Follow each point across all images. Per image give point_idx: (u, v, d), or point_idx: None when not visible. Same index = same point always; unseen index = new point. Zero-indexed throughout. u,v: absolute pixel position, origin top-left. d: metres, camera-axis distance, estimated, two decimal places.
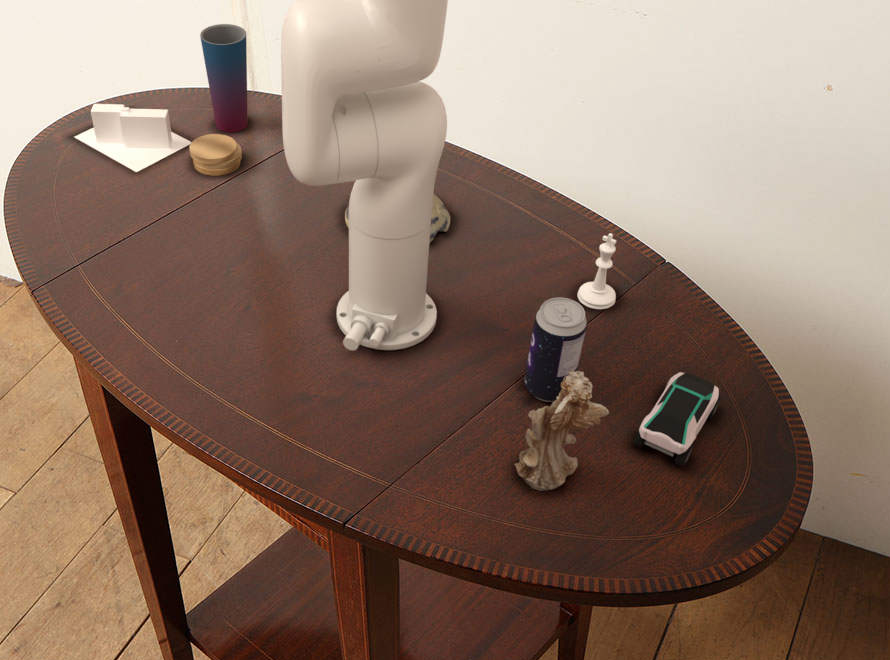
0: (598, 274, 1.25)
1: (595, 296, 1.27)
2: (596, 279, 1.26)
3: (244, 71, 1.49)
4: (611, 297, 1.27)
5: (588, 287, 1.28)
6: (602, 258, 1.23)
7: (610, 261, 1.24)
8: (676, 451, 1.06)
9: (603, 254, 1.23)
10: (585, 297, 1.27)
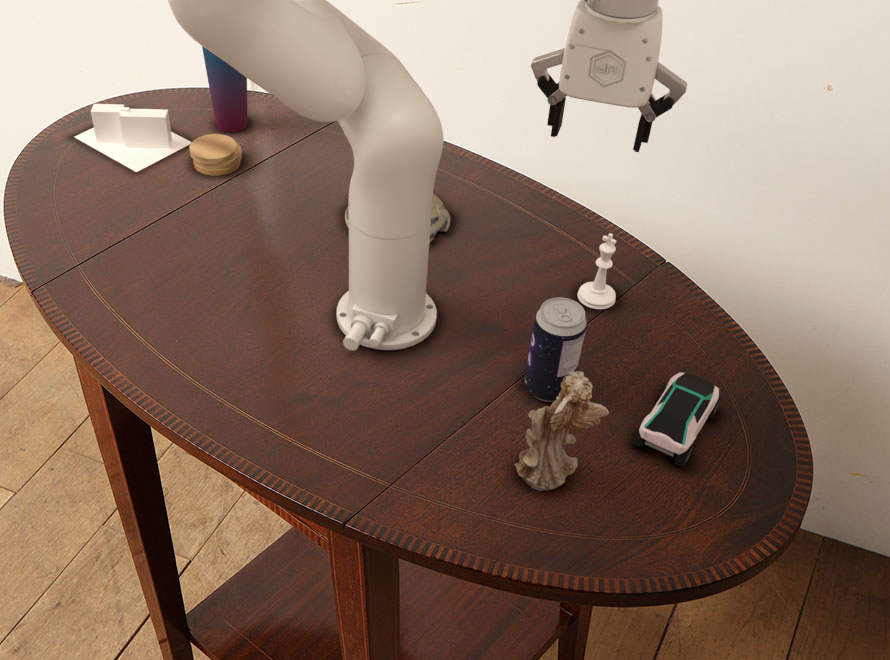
0: (598, 274, 1.25)
1: (595, 296, 1.27)
2: (596, 279, 1.26)
3: None
4: (611, 297, 1.27)
5: (588, 287, 1.28)
6: (602, 258, 1.23)
7: (610, 261, 1.24)
8: (676, 451, 1.06)
9: (603, 254, 1.23)
10: (585, 297, 1.27)
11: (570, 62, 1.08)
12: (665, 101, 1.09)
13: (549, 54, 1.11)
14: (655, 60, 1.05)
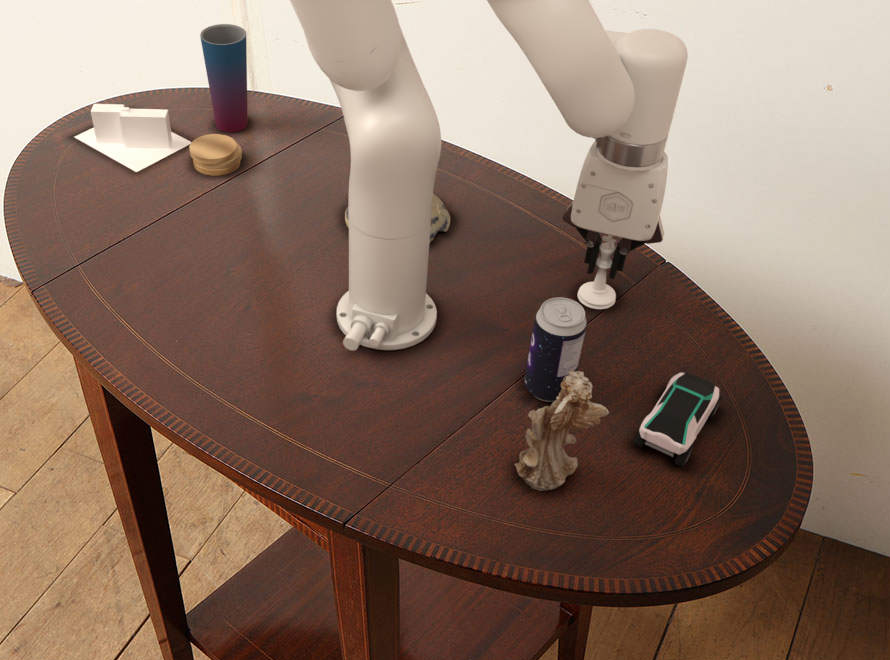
0: (598, 274, 1.25)
1: (595, 296, 1.27)
2: (596, 279, 1.26)
3: (244, 71, 1.49)
4: (611, 297, 1.27)
5: (588, 287, 1.28)
6: (602, 258, 1.23)
7: (610, 261, 1.24)
8: (676, 451, 1.06)
9: (603, 254, 1.23)
10: (585, 297, 1.27)
11: (581, 199, 1.16)
12: None
13: (571, 203, 1.20)
14: (660, 202, 1.14)
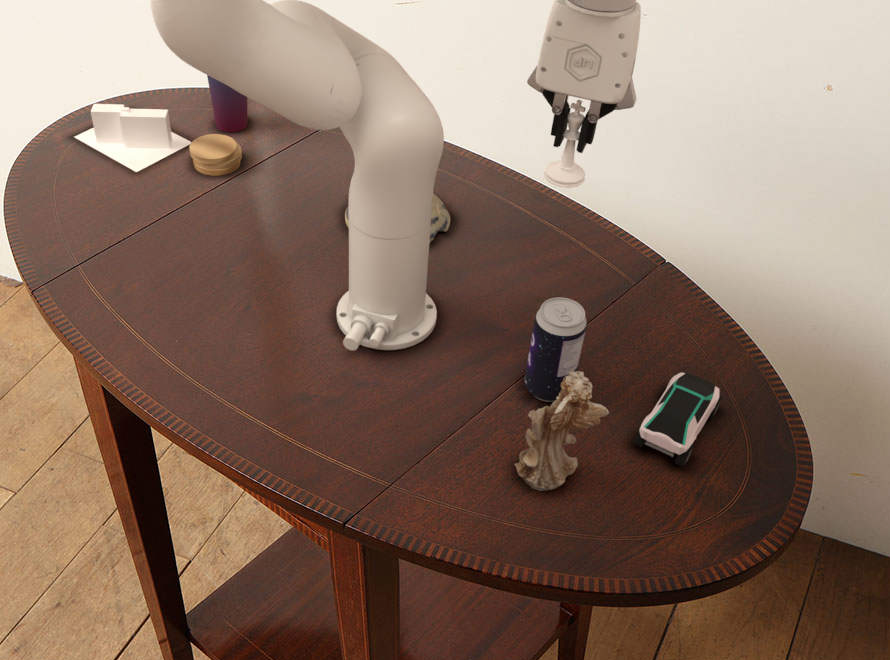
0: (566, 148, 1.16)
1: (563, 174, 1.17)
2: (564, 154, 1.17)
3: None
4: (580, 175, 1.18)
5: (555, 165, 1.19)
6: (570, 129, 1.14)
7: (578, 133, 1.15)
8: (676, 451, 1.06)
9: (571, 123, 1.13)
10: (551, 174, 1.18)
11: (547, 54, 1.07)
12: None
13: None
14: (631, 56, 1.04)
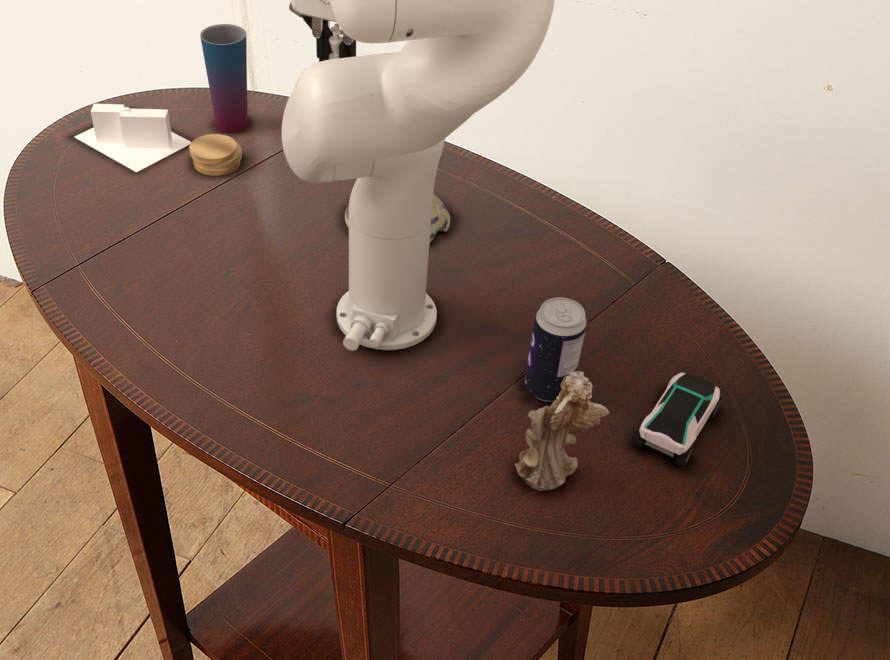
0: None
1: None
2: None
3: (244, 71, 1.49)
4: None
5: None
6: (333, 51, 1.25)
7: None
8: (676, 451, 1.06)
9: (332, 46, 1.24)
10: None
11: None
12: None
13: None
14: None
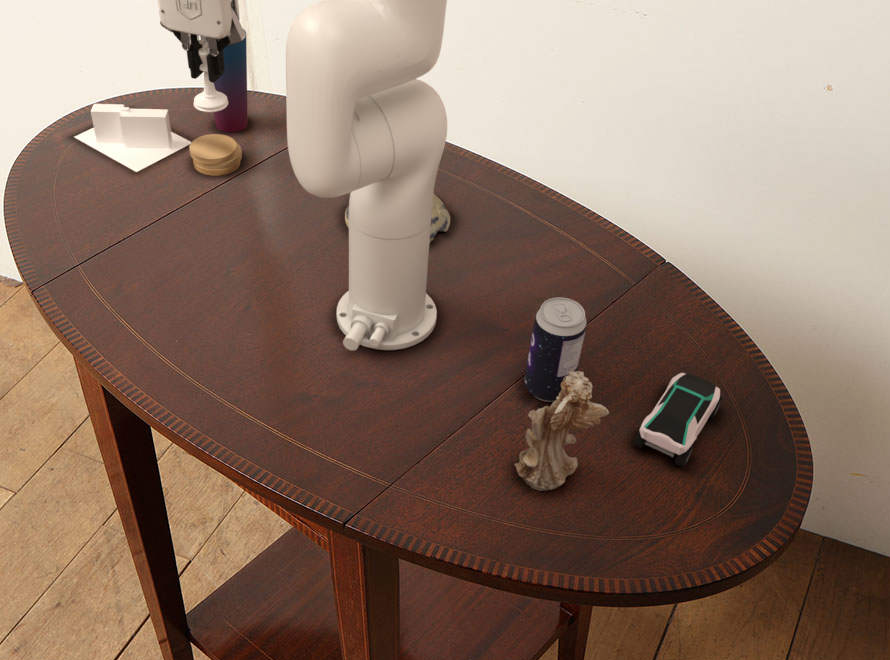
0: (204, 79, 1.39)
1: (205, 100, 1.40)
2: (204, 84, 1.40)
3: (244, 71, 1.49)
4: (220, 102, 1.41)
5: None
6: (202, 61, 1.37)
7: None
8: (676, 451, 1.06)
9: (201, 57, 1.36)
10: (197, 101, 1.41)
11: None
12: (222, 38, 1.33)
13: None
14: None
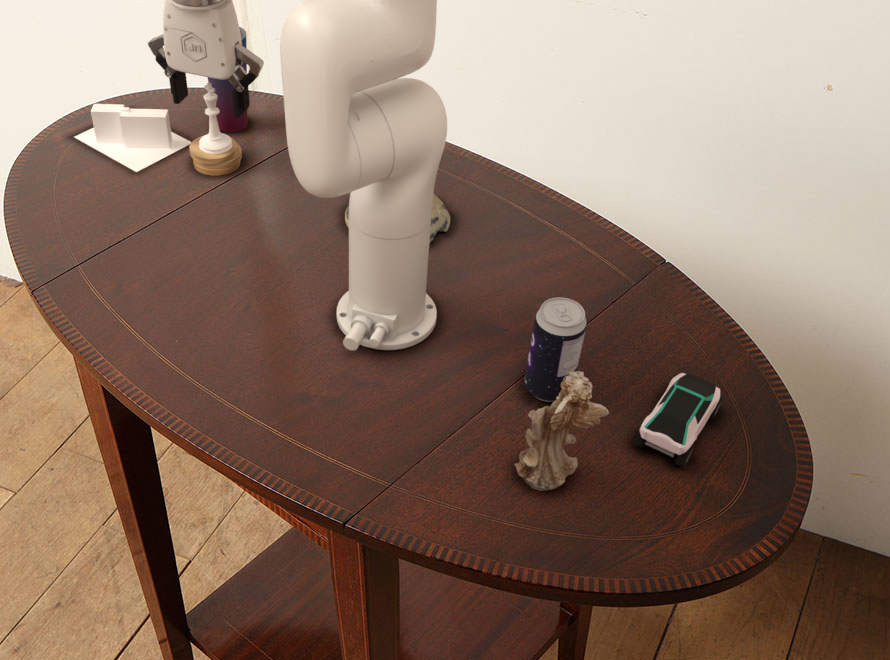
0: (209, 122, 1.44)
1: (210, 143, 1.45)
2: (209, 127, 1.44)
3: None
4: (225, 144, 1.45)
5: None
6: None
7: (216, 109, 1.43)
8: (676, 452, 1.06)
9: (206, 102, 1.41)
10: (202, 144, 1.45)
11: (168, 41, 1.34)
12: (247, 75, 1.35)
13: (160, 35, 1.37)
14: (227, 41, 1.31)
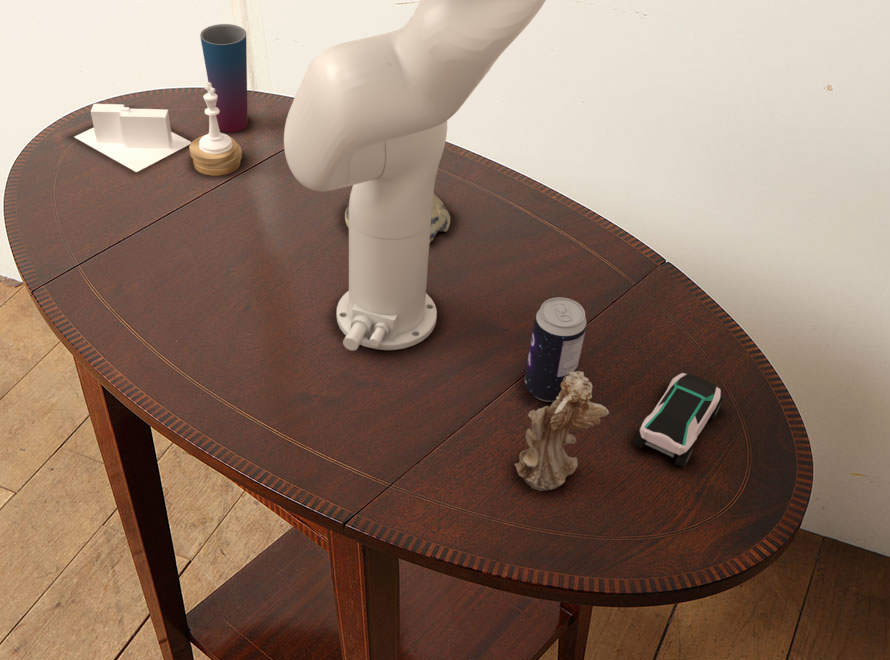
0: (209, 122, 1.44)
1: (210, 143, 1.45)
2: (209, 127, 1.44)
3: (244, 71, 1.49)
4: (225, 144, 1.45)
5: None
6: None
7: (216, 109, 1.43)
8: (676, 452, 1.06)
9: (206, 102, 1.41)
10: (202, 144, 1.45)
11: None
12: None
13: None
14: None
